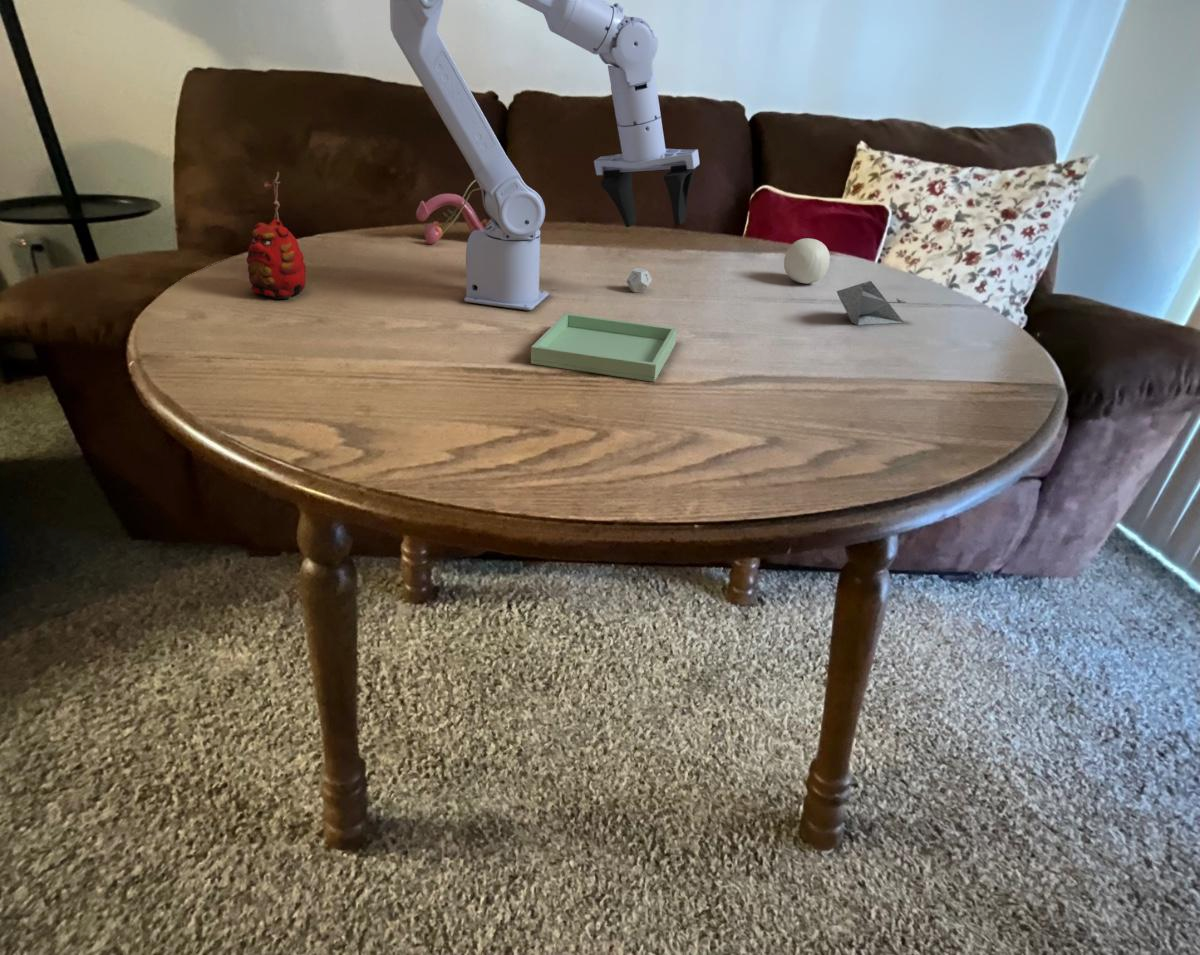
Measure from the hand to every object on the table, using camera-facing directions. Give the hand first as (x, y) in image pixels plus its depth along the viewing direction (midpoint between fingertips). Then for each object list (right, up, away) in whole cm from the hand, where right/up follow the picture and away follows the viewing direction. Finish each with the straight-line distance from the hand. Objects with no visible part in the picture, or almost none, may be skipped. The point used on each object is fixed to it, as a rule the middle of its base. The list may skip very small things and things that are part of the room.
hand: (655, 223), depth 116 cm
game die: (-2, -8, +6) cm, 10 cm away
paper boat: (+28, -14, -2) cm, 32 cm away
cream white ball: (+24, -5, +16) cm, 29 cm away
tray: (-7, -20, -17) cm, 28 cm away
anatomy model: (-30, +5, +26) cm, 40 cm away
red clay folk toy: (-50, -11, -4) cm, 51 cm away
